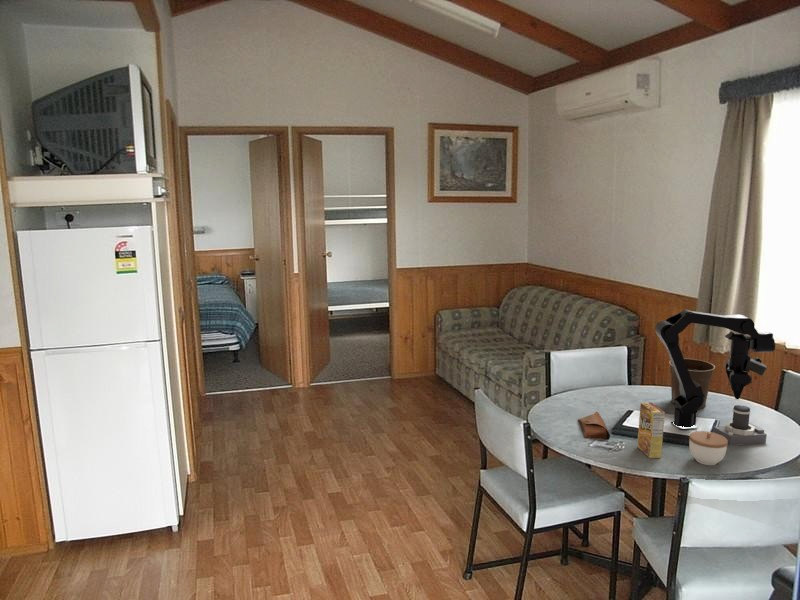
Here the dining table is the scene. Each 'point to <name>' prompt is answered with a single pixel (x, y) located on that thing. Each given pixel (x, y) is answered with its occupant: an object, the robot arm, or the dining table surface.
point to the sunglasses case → (594, 427)
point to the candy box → (651, 430)
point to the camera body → (741, 434)
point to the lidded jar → (707, 447)
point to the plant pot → (693, 376)
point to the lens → (740, 417)
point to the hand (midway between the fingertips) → (735, 394)
